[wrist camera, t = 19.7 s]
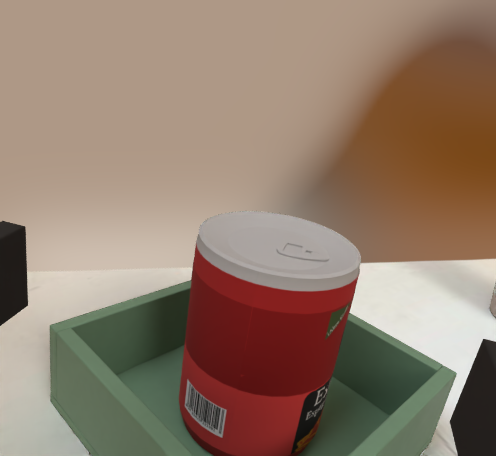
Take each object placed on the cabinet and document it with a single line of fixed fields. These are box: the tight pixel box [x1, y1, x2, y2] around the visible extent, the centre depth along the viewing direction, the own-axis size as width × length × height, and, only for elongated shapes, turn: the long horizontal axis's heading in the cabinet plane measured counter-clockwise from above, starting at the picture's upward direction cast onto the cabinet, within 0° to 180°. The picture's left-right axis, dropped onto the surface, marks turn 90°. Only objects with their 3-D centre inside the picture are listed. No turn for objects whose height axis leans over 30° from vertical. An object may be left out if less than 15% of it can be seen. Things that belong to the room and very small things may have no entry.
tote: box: [50, 280, 456, 456], centre depth 26 cm, size 16×16×5 cm
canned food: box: [179, 211, 361, 456], centre depth 24 cm, size 8×8×11 cm
